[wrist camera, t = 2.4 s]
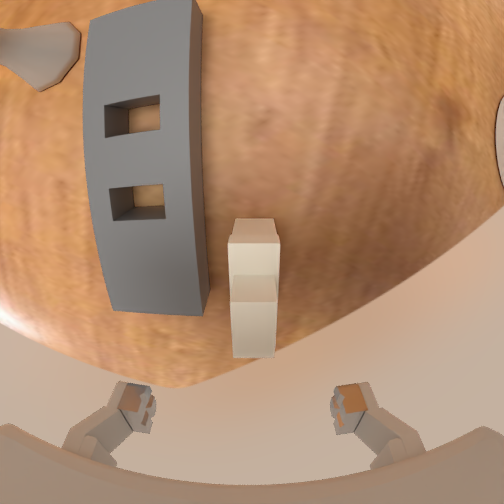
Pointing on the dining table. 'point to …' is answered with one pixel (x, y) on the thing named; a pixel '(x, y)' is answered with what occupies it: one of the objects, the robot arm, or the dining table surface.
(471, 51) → the dining table surface
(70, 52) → the flask
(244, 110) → the dining table surface
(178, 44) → the rail
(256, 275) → the clip
